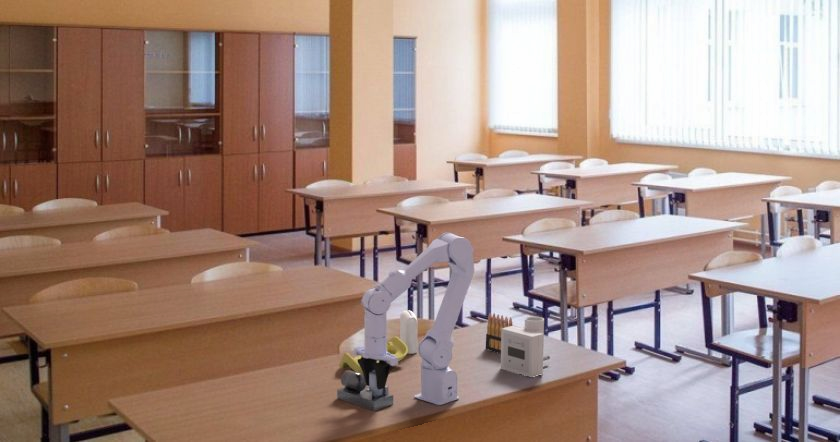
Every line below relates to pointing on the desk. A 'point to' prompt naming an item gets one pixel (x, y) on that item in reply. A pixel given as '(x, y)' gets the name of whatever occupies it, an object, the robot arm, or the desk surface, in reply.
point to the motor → (362, 392)
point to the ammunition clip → (495, 332)
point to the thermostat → (523, 347)
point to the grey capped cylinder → (374, 384)
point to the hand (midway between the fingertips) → (375, 386)
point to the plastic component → (393, 347)
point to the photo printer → (409, 330)
